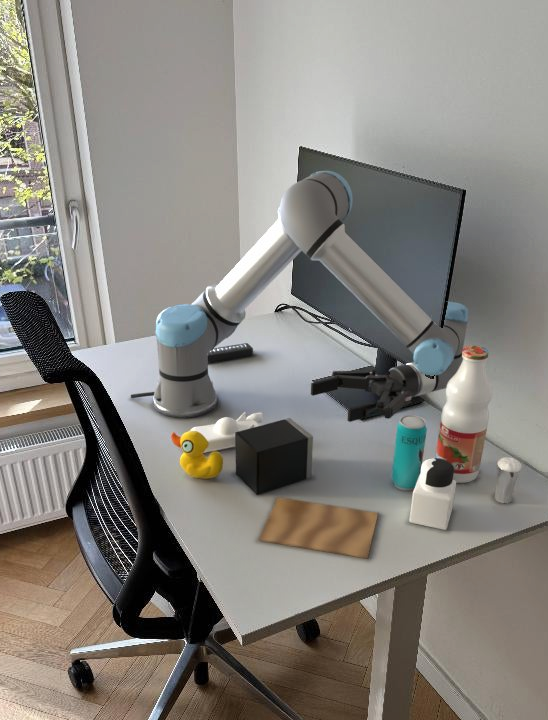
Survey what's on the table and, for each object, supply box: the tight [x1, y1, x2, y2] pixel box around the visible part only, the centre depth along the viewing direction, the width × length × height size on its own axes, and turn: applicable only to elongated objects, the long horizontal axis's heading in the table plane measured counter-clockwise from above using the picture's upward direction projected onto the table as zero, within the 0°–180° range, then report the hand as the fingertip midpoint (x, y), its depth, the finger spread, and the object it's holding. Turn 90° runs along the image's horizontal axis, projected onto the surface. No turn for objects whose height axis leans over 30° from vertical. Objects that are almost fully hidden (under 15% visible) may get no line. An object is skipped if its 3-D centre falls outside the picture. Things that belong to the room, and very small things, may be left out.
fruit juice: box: [434, 345, 494, 484], centre depth 153 cm, size 9×9×28 cm
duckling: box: [170, 430, 224, 480], centre depth 154 cm, size 11×5×10 cm, turn 68°
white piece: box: [189, 411, 264, 454], centre depth 168 cm, size 10×20×6 cm, turn 111°
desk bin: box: [234, 417, 314, 496], centre depth 155 cm, size 13×9×10 cm
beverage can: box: [391, 414, 428, 492], centre depth 152 cm, size 6×6×15 cm
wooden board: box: [258, 497, 379, 559], centre depth 142 cm, size 20×14×1 cm
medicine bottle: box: [408, 457, 457, 531], centre depth 143 cm, size 7×7×12 cm
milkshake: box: [494, 456, 528, 504], centre depth 149 cm, size 4×5×10 cm
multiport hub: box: [208, 342, 254, 364], centre depth 209 cm, size 4×14×2 cm, turn 116°
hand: (329, 402), depth 156 cm, fingers open, 13 cm apart
